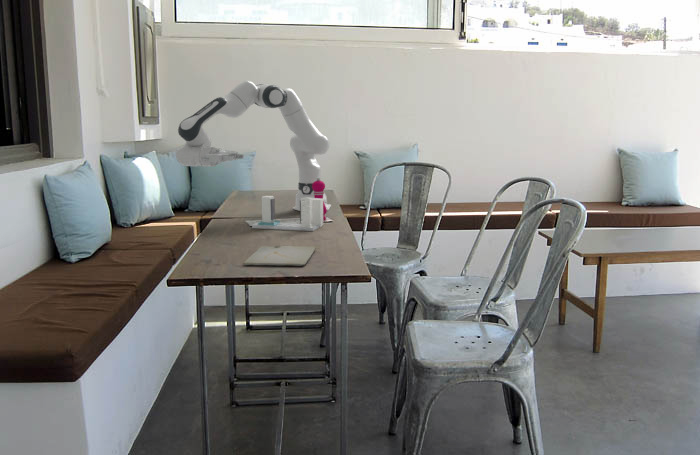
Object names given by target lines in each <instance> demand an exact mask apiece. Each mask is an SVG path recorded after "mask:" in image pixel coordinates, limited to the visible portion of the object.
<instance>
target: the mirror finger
mask: <svg viewBox="0 0 700 455" xmlns="http://www.w3.org/2000/svg"><path fill="white" fill-rule="evenodd" d="M313 224H319V228H321V227H323V226H324V221H323V199H321V198H314V199H313Z"/></svg>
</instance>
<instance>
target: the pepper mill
mask: <svg viewBox="0 0 700 455" xmlns="http://www.w3.org/2000/svg"><path fill="white" fill-rule="evenodd" d="M312 188H313V190H314V191H313V192H314V193H313V194H314V197H315V198H321V199H323V194H324V193H325V189H326V184H325V182H324V181H322V180H321V181H320V178H319V177H318V178H317V181H315V182H314V183H313V184H312ZM327 211H328V210H327V209H326V206H325V204H324V201H323V222H325V221H327V216H326V214H327Z"/></svg>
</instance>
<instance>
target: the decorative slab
mask: <svg viewBox="0 0 700 455" xmlns="http://www.w3.org/2000/svg"><path fill="white" fill-rule="evenodd" d="M316 249H317V246H299V245H298V246H295V245H284V246H281V245H274V246H270V245H260V247H259V248H258V249H256V250H255V252H253V253H252V254H251V255H250V256H249V257H248V258H247V259H246V260H245V261H244V262H243V266H295V267H296V266H297V267H300V266H301V267H302V266H305V265H306V264H307V263H308V261H309V260H310V259H311V256H313V253H314V252H315V251H316Z"/></svg>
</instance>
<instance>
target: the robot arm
mask: <svg viewBox="0 0 700 455" xmlns="http://www.w3.org/2000/svg"><path fill="white" fill-rule="evenodd" d="M300 99H301V98H299V97H298V95H297V93H296V92H295V90H293V88H289V87H287V88H283V89H282V88H281V87H280V86H278V85H275V84H270V83H265V84H264V83H261V84H257V85H256V84H255V83H254V82H253V81H251V80H244V81H242V82H241V83H239V84H238V85H236V86H235V87H234V88H233V89H231V90H230V91H229V92H228V93H227V94H226V95H224V96H222V97H221V96H220V97H219V96H218V97H216V98H214V99H213V100H211V101H210V102H208V103H207V104H205V105H204V106H203V107H201V108H200V109H199V110H197V111H196V112H195V113H193V114H191V116H189V117H186V118H185V119H183V120H182V121H181V122H180V123H179V125H178V130H177V131H178V132H177V133H178V135H179V136H180V138H182V139H183V140H184V141H185V143H184V144H183V145H182V146H181V147H178V148H177V149H176V151H175V157H176V160H177V162H178V163H179V164H180V165H182V166H184V167H185V166H186V167H199V166H200V167H205V168H210V167H211V168H213V167H216V166H218V165H219V164H221V163H225V162H230V161H237V160H238V159H239V160H241V159H244V157H245V156H244V154H242V153H241V154H240V153H239V152H238V151H234V150H225V149H222V148H217V147H215V146H212V140H211V139H212V138H211V137H210V136H209V134H208V132H206V131H205V129H204V127H203V125H204V124H205V123H207V122H208V121H210V120H211V119H212V118H214V117H215V116H216V115H224V116H225V117H228V118H232V119H235V118H240V117H241V116H242V115H244V113H245V112H246V111H248V109H249V108H250V107H252V105H253V104H255V105H257V106H259V107H262V108H265V109H277V108H278V109H279V111H280V113H281V114H282V117H283V118H284V121H285V123H286V124H287V127H288V129H289V130H290V131H291V132H292V133H293V134H294V135H293V136H292V137H291V138H290V140H289V147H290V149H291V151H292V152H293V154H294V155H295V159H296V162H297V166H298V181H299V182H298V184H297V186H298V187H297V189H298V191H297V192H296V194H295V206H293V207H292V209H293V210H296V211H299V212H300V200H301V198H303V197H313V199H314V198H315V197H314V194H313V193H314V192H313V191H314V190H313V188H312V184H313V183H314V182H315V181H317V178H318V177H319V178H320V181H322V179H321V178H322V177H321V176H322V174H321V173H322V170H321V168H322V167H321V165H320V164H319V163H318V161H317V158H316V157H318V156H322V155H325V154H326V153H327V152H328V151H329V149H330V140H329V139H328V137H327V136H325V135H324V134H323V133H321V131H320V130H319V129H318V128H317V126H316V125H315V124H314V123H313V121H312V120H311V118H310V117H309V115H308V112H306V111H307V110H306V109H305V107H304V105H303V103H302V101H301V100H300ZM323 201H324V204H325V206H326V209H327V211H329V210H330V208H331V207H332V205H331V204H330V203H329V204H328V202H327V194H326V193H325V192H324V194H323Z"/></svg>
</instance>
